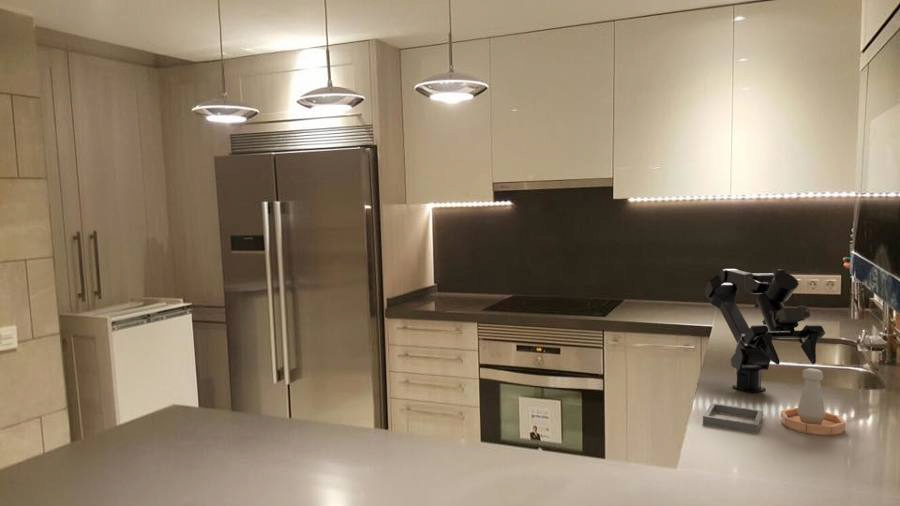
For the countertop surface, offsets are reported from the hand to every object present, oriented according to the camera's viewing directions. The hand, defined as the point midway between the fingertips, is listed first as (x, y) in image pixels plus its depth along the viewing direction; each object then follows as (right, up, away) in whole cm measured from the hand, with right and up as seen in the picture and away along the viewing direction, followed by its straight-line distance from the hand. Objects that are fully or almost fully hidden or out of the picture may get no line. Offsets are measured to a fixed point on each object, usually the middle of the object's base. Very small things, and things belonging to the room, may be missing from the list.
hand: (796, 363), depth 158 cm
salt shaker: (0, -13, -6) cm, 15 cm away
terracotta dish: (0, -14, -6) cm, 15 cm away
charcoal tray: (-17, -14, -3) cm, 22 cm away
